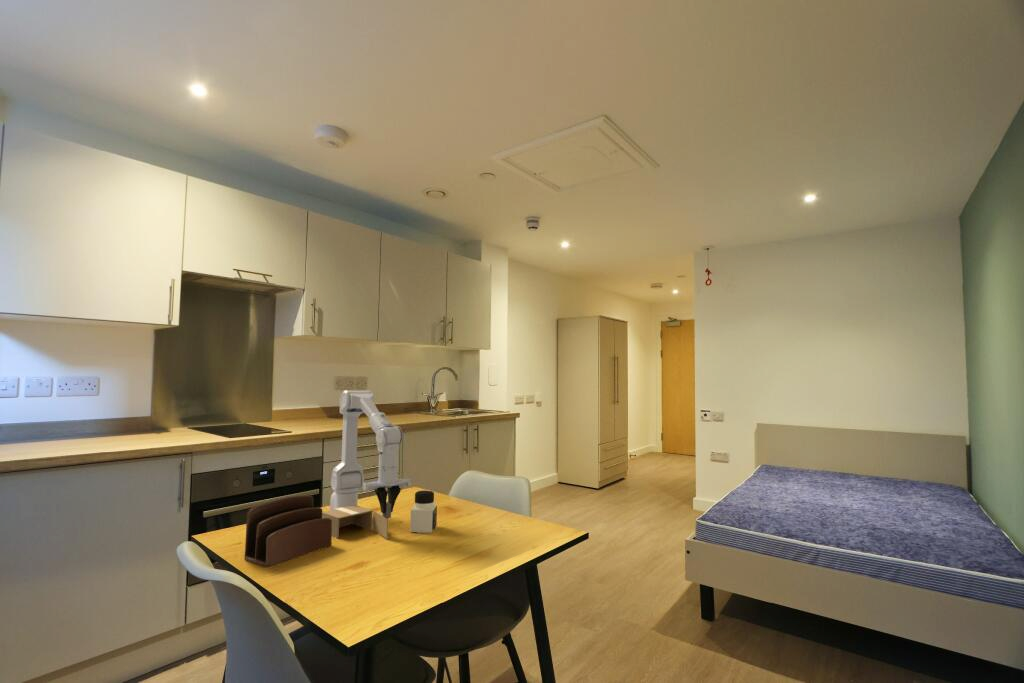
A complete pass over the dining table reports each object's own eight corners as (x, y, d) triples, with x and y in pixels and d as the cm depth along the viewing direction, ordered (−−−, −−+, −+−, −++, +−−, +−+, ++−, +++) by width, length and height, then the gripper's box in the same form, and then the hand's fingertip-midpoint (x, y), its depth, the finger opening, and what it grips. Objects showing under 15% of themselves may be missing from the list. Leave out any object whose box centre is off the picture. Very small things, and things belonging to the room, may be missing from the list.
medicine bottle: (432, 533, 152) (433, 493, 153) (409, 532, 152) (411, 493, 153) (436, 526, 159) (437, 489, 160) (414, 526, 160) (415, 488, 161)
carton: (319, 531, 152) (320, 511, 153) (354, 523, 161) (354, 504, 162) (337, 538, 146) (338, 517, 146) (371, 529, 155) (372, 509, 156)
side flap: (386, 538, 145) (387, 505, 146) (372, 529, 155) (373, 497, 156) (391, 537, 146) (392, 504, 147) (377, 528, 156) (378, 497, 156)
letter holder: (243, 560, 128) (246, 505, 129) (309, 540, 145) (312, 491, 146) (265, 568, 123) (268, 510, 124) (332, 546, 140) (334, 495, 141)
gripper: (369, 470, 142) (367, 518, 141) (415, 466, 150) (414, 511, 149) (361, 467, 148) (359, 513, 147) (406, 463, 156) (405, 506, 155)
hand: (386, 512), depth 148 cm, fingers closed on side flap
